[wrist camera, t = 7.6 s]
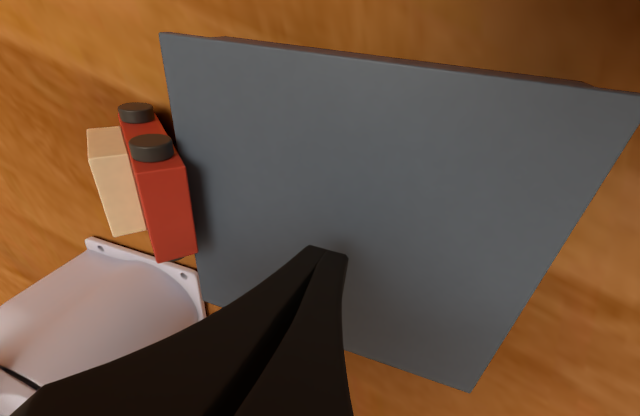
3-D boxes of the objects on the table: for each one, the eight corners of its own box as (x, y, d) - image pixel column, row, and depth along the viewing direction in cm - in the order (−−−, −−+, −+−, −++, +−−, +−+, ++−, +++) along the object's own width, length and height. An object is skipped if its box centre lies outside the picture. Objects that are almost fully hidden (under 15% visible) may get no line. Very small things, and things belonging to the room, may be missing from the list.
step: (237, 259, 19) (202, 300, 17) (220, 29, 13) (157, 32, 10) (465, 329, 16) (470, 394, 14) (594, 75, 10) (657, 97, 7)
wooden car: (168, 189, 18) (110, 200, 17) (151, 97, 16) (80, 101, 14) (200, 263, 14) (123, 286, 12) (183, 149, 11) (80, 162, 9)
